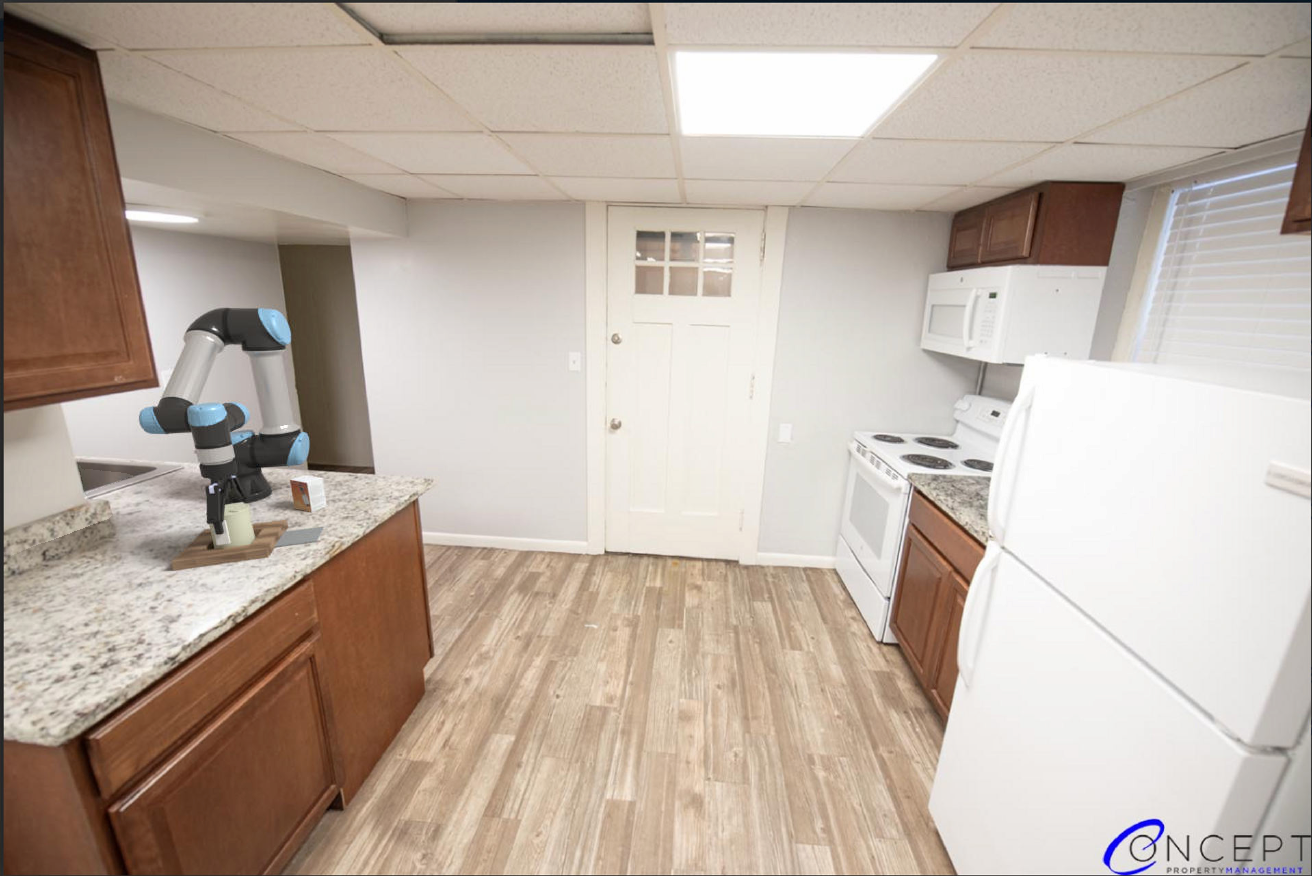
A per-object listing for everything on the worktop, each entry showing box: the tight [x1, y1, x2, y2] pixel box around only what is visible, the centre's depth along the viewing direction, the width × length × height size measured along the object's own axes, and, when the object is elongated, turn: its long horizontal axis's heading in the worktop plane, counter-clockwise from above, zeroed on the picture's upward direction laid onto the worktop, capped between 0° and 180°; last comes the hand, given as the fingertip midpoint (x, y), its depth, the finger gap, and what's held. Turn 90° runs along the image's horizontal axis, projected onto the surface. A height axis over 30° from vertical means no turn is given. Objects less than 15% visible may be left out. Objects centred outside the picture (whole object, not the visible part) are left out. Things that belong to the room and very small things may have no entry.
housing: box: [171, 519, 289, 572], centre depth 139 cm, size 20×20×2 cm
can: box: [205, 503, 256, 549], centre depth 138 cm, size 9×9×12 cm
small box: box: [289, 474, 328, 513], centre depth 165 cm, size 8×6×10 cm
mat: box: [275, 526, 325, 548], centre depth 146 cm, size 10×10×1 cm
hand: (233, 533), depth 139 cm, fingers open, 12 cm apart
